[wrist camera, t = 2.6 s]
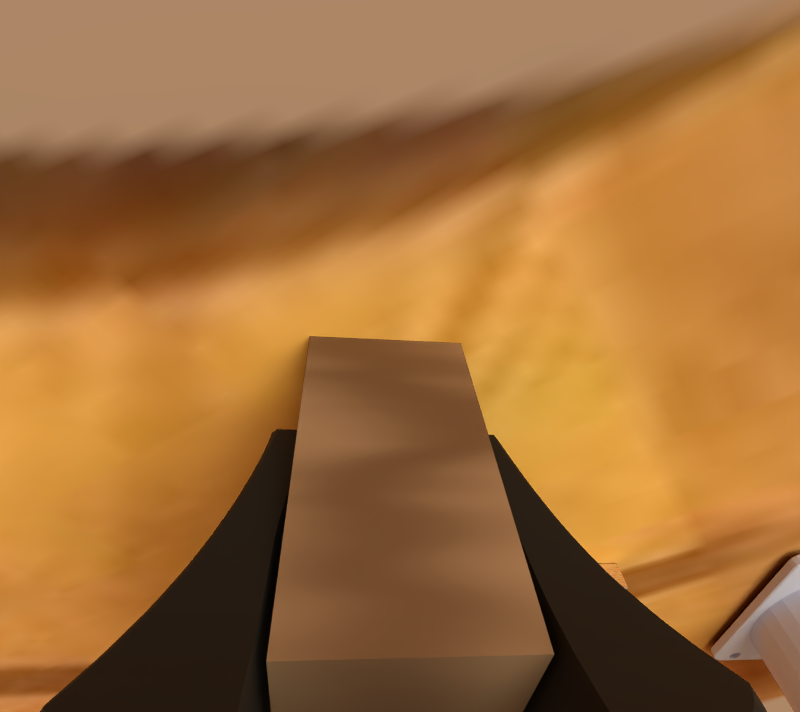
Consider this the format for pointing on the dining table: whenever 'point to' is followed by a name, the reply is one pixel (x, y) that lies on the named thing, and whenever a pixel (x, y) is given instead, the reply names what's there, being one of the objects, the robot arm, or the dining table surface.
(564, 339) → the dining table surface
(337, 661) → the rail post
